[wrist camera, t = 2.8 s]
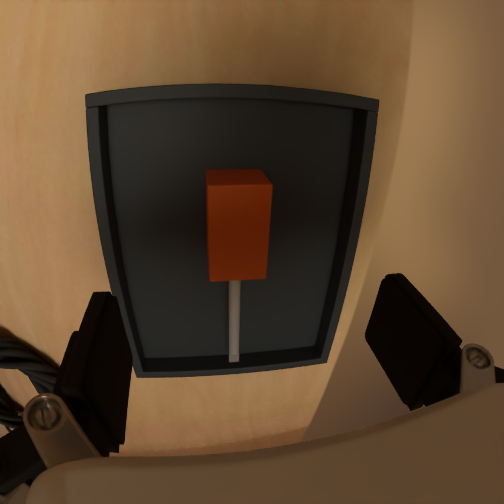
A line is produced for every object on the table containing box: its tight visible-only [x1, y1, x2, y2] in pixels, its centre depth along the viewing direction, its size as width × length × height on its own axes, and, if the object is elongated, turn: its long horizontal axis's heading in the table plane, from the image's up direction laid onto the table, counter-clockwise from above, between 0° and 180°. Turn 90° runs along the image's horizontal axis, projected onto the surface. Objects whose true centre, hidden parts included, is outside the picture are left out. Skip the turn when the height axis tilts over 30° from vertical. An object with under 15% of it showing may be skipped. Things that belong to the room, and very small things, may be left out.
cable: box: [0, 336, 58, 432], centre depth 22 cm, size 17×14×4 cm
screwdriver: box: [206, 169, 273, 362], centre depth 19 cm, size 13×3×3 cm, turn 178°
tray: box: [85, 84, 379, 378], centre depth 19 cm, size 19×15×2 cm
